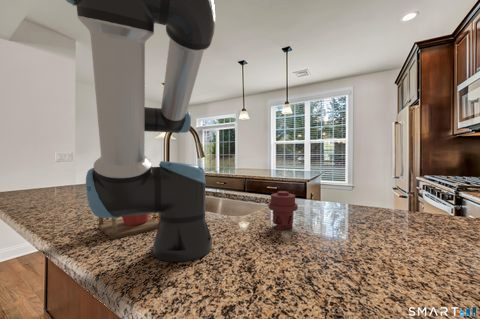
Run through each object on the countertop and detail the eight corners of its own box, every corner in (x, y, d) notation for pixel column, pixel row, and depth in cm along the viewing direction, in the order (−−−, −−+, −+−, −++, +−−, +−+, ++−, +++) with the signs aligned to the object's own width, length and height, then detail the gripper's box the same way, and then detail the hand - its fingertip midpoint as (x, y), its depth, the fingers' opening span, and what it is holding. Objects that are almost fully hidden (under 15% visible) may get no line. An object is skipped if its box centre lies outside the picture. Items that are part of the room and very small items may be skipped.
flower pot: (145, 226, 74) (141, 198, 73) (112, 228, 74) (109, 200, 73) (157, 215, 84) (155, 190, 83) (129, 216, 85) (126, 191, 83)
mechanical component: (268, 222, 83) (295, 223, 82) (268, 231, 73) (299, 232, 72) (268, 189, 83) (295, 189, 82) (268, 194, 73) (300, 194, 72)
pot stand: (163, 227, 78) (163, 209, 78) (112, 239, 66) (112, 218, 66) (144, 218, 89) (144, 202, 89) (98, 227, 78) (98, 209, 77)
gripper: (159, 151, 89) (160, 204, 89) (84, 150, 71) (85, 217, 71) (168, 151, 83) (169, 207, 84) (90, 150, 66) (91, 221, 66)
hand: (130, 212), depth 77 cm, fingers open, 13 cm apart
